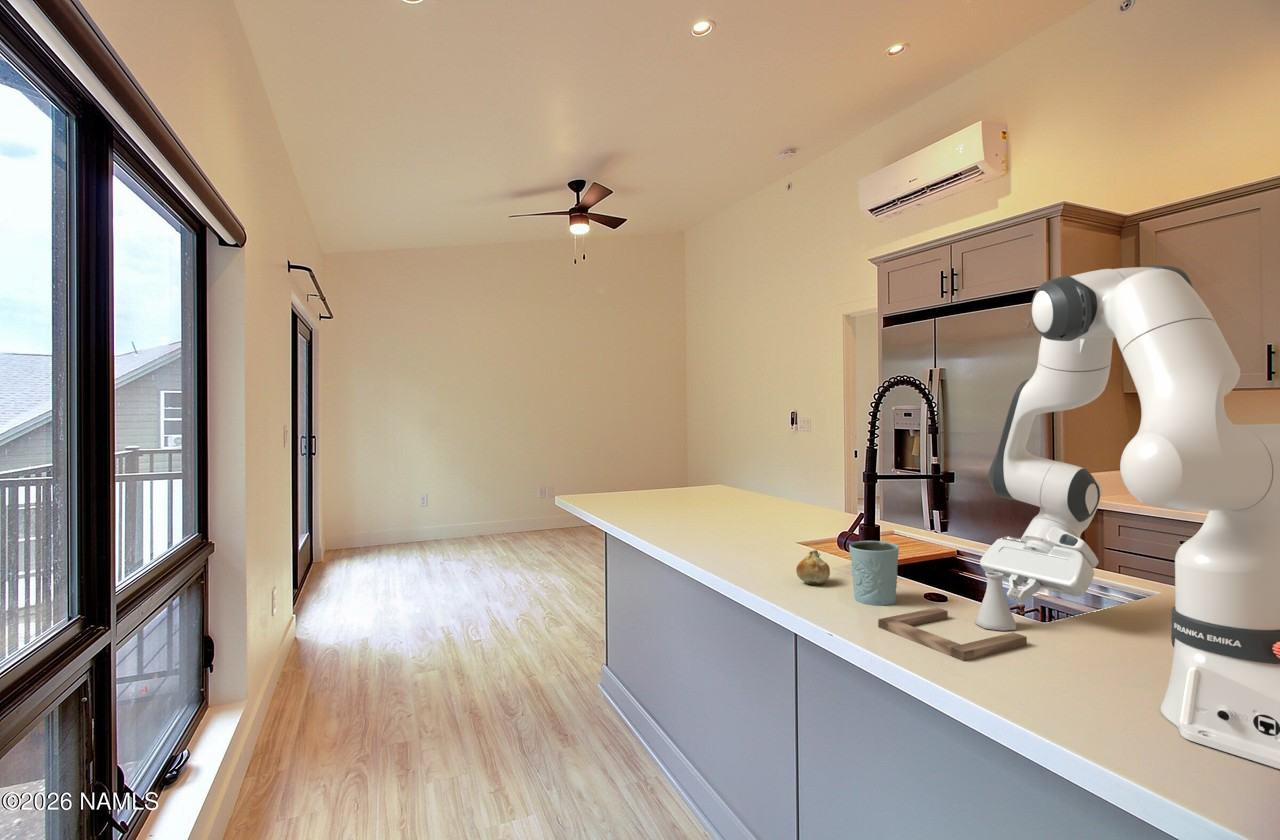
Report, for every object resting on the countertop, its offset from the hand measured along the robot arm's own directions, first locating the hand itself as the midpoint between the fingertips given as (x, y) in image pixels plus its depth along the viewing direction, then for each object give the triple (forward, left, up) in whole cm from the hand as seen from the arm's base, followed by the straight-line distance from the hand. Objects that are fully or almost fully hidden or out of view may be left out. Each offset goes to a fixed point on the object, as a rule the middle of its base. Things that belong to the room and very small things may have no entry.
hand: (1014, 599), depth 127 cm
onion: (+40, +16, -5) cm, 44 cm away
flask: (0, +5, -5) cm, 7 cm away
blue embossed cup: (+23, +13, -4) cm, 27 cm away
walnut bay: (0, +18, -4) cm, 18 cm away
